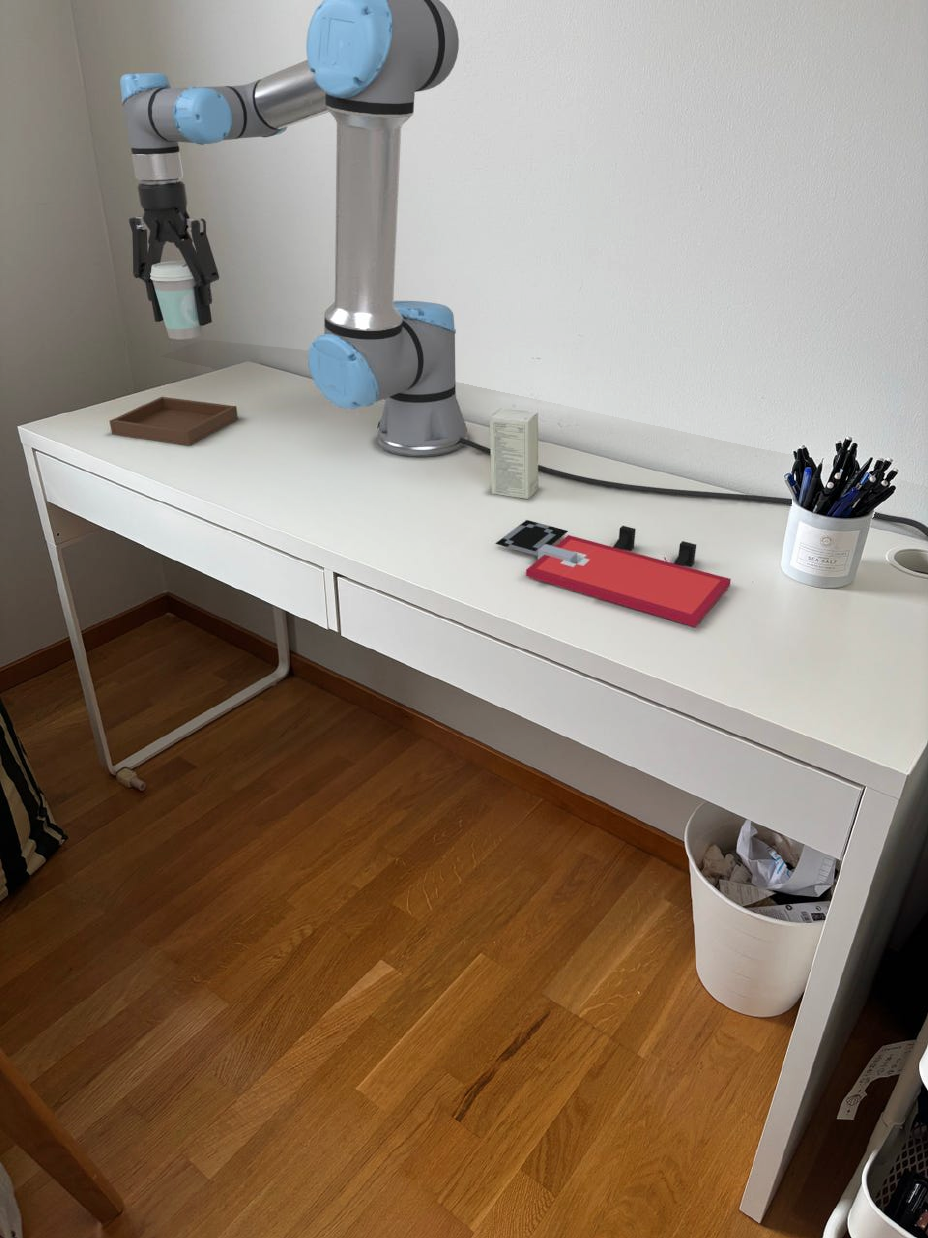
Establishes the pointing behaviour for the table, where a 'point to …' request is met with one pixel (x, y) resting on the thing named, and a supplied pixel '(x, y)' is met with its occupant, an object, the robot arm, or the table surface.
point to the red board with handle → (620, 572)
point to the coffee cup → (176, 298)
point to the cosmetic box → (514, 452)
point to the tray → (174, 420)
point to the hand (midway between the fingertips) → (183, 321)
